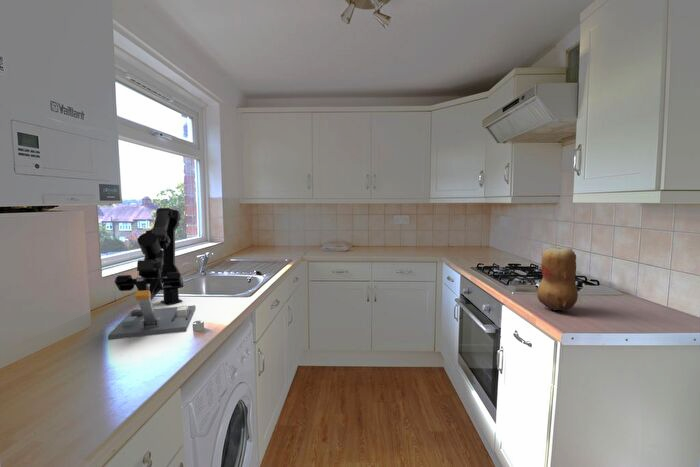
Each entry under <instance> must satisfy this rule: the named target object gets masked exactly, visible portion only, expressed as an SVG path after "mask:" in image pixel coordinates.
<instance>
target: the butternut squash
mask: <svg viewBox="0 0 700 467" xmlns="http://www.w3.org/2000/svg"><path fill="white" fill-rule="evenodd" d="M541 273H542V278H541V281H540V283H539V285H538V287H537V292H536V294H537V299H538V301H539V302H540V303H541V304H543V306H545V307H546V308H547V307H548V308H547V309H549V308H550V309H549V310H551V309H553V310H562V311H561V312H567V311H569V310H571V309H572V308H573V307H574V306H575V305H576V303H577V301H578V298H579V296H578V294H579V293H578V288H577V283H576V273H577V254H576V253H575V251H574V250H573V249H571V248H569V247H563V246H562V247H552V248H548V249H545V250H544V251H543V253H542V256H541ZM553 310H552V311H553Z"/></svg>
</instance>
